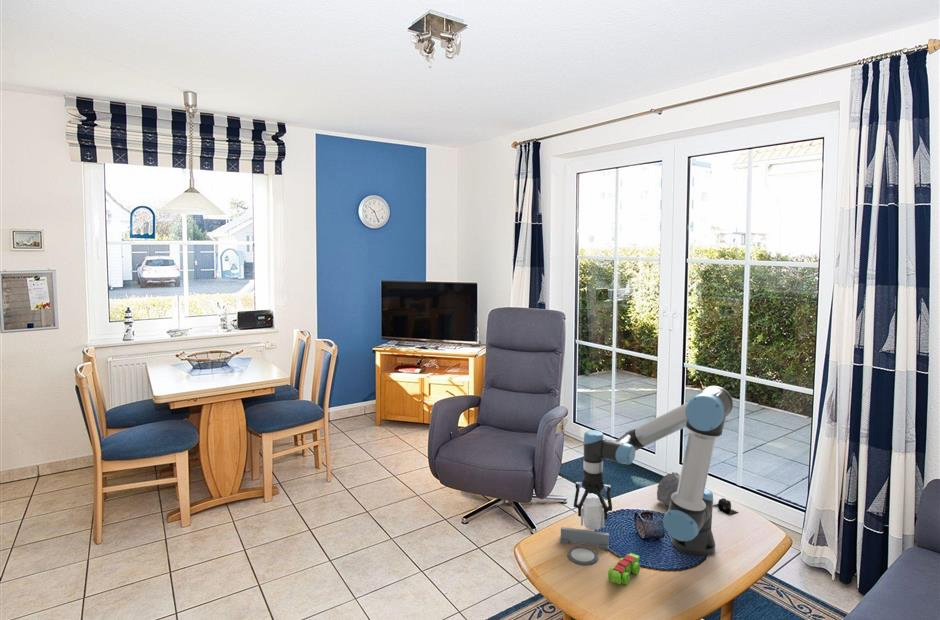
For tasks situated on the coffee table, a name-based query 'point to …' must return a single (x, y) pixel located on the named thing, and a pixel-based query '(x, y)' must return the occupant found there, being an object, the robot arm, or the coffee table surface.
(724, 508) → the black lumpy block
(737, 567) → the coffee table surface
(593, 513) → the white cup
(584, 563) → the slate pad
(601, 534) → the grey rectangular bar
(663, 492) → the decorative rock
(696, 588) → the coffee table surface
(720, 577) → the coffee table surface
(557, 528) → the coffee table surface
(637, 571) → the toy crocodile
